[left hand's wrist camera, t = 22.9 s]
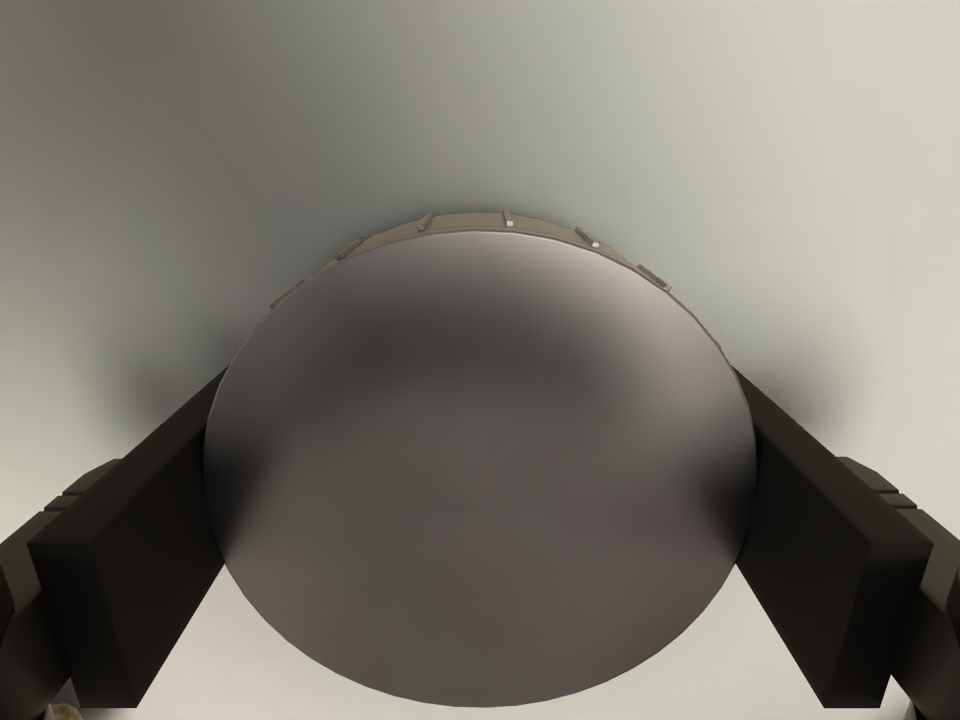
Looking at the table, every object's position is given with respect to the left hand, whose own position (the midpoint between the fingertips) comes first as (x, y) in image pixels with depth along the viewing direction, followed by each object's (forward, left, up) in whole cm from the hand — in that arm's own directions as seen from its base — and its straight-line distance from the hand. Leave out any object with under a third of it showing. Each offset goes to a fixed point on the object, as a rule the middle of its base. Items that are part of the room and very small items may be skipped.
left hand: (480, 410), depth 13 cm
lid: (0, 0, +3) cm, 3 cm away
